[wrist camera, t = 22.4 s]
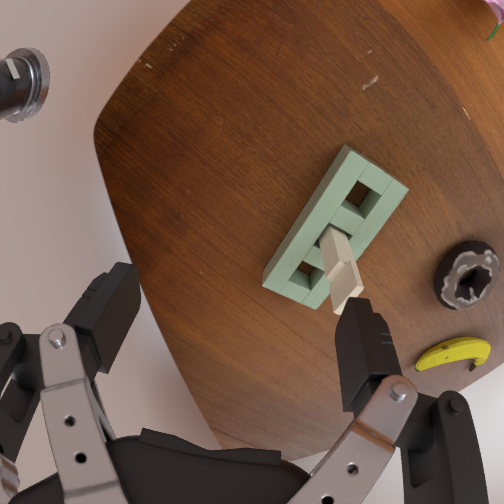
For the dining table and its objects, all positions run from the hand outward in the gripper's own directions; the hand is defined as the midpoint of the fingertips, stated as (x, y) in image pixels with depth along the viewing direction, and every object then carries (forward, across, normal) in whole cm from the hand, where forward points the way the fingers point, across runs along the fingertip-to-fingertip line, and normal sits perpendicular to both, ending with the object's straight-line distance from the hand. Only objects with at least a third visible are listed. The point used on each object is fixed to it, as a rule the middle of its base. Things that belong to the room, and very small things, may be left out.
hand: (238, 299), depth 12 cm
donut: (+26, -32, +12) cm, 43 cm away
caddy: (+26, -9, +9) cm, 29 cm away
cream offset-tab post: (+26, -9, +9) cm, 29 cm away
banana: (+26, -42, +32) cm, 59 cm away
